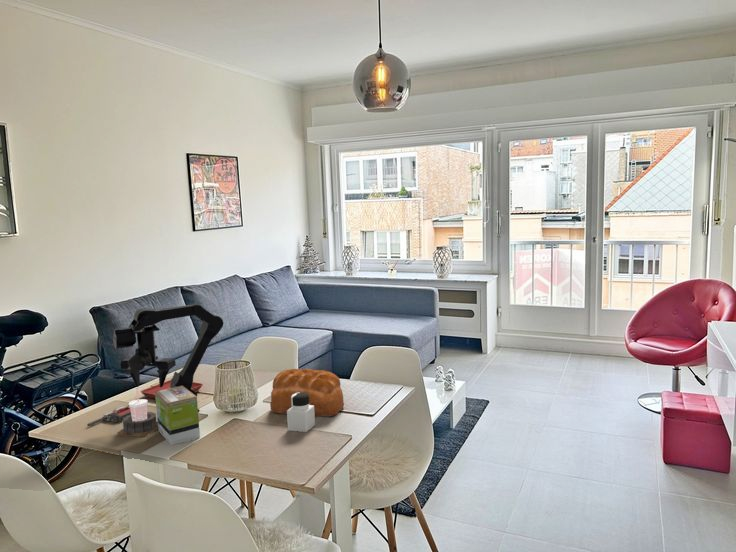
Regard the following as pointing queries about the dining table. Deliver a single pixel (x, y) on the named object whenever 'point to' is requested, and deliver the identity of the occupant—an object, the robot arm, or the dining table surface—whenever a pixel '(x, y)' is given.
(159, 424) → the tea box
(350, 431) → the dining table surface
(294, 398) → the medicine bottle
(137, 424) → the cup holder
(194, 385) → the plant saucer
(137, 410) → the beverage cup
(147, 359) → the robot arm
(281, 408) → the bread
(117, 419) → the walkie-talkie
